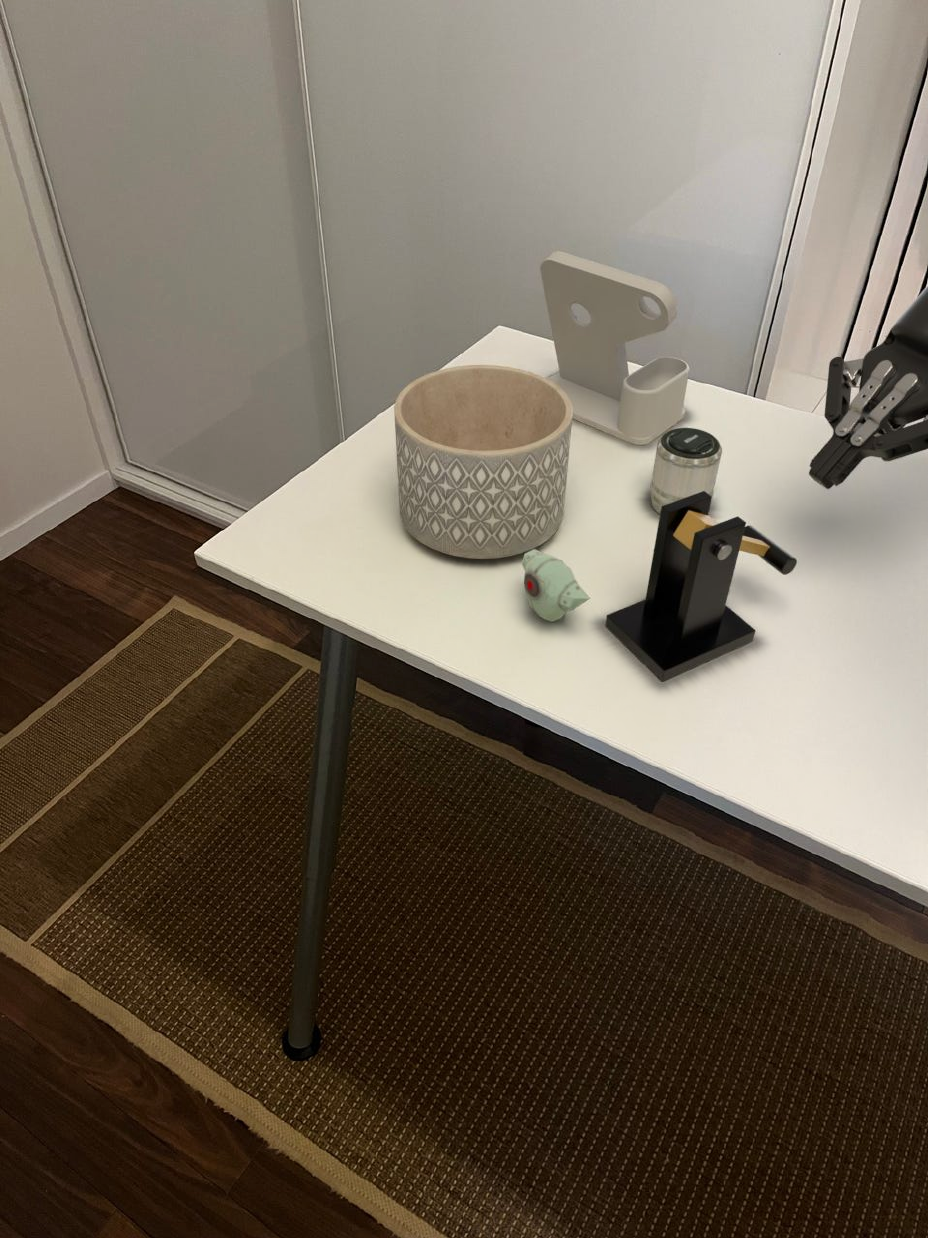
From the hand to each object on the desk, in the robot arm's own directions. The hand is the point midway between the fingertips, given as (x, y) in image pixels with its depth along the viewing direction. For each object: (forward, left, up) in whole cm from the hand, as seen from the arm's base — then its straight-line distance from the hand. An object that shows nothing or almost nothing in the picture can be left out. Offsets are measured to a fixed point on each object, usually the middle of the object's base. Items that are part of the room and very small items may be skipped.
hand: (818, 481), depth 79 cm
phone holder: (+31, -17, -12) cm, 37 cm away
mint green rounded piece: (+14, +18, -12) cm, 26 cm away
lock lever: (+3, +9, -4) cm, 10 cm away
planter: (+28, +10, -12) cm, 32 cm away
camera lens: (+14, -5, -12) cm, 19 cm away
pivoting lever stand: (+4, +12, -12) cm, 17 cm away
